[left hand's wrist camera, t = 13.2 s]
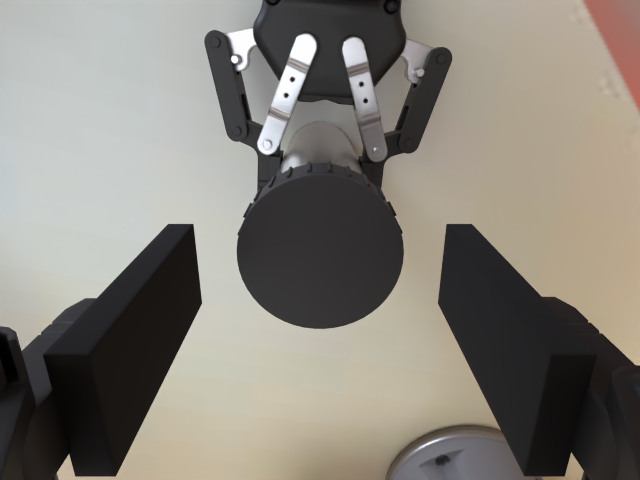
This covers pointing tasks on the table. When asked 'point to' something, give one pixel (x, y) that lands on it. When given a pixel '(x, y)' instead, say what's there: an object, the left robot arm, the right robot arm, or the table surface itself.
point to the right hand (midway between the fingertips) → (317, 212)
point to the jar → (320, 148)
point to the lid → (320, 246)
